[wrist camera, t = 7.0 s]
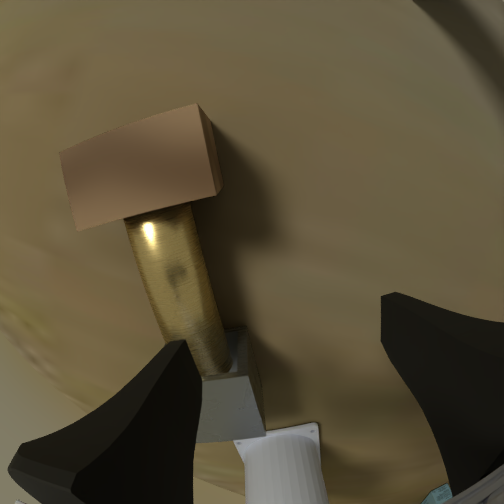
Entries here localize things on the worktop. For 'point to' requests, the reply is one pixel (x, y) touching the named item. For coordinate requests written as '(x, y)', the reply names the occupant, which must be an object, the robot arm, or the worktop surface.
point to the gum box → (439, 495)
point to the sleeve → (233, 396)
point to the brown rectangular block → (142, 167)
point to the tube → (179, 284)
